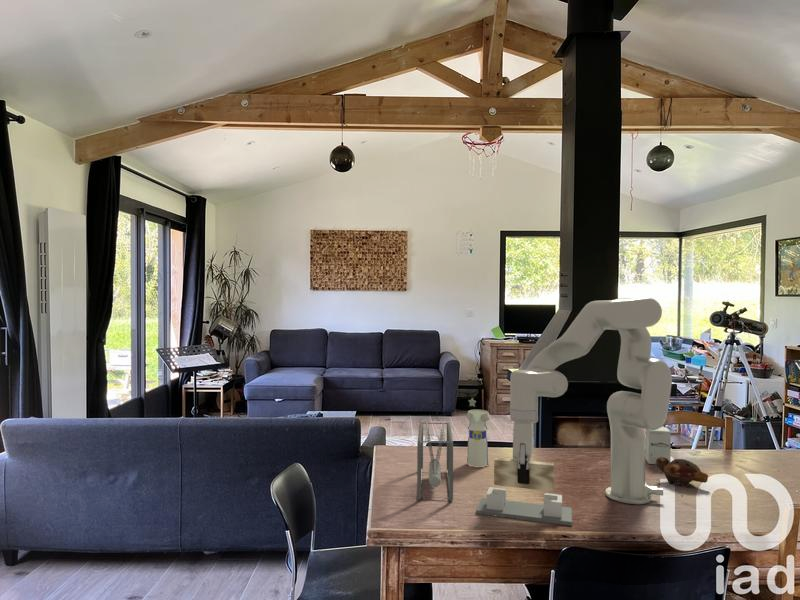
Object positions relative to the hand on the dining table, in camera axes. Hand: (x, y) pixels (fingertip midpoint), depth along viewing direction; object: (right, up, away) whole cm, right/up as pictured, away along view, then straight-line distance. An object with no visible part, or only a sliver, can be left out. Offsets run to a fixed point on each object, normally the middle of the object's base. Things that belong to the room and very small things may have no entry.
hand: (523, 481), depth 141 cm
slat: (0, -2, 0) cm, 2 cm away
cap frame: (0, -9, 0) cm, 9 cm away
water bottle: (-6, -10, +44) cm, 45 cm away
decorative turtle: (+57, -10, +24) cm, 62 cm away
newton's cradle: (-23, -9, +22) cm, 33 cm away
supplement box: (+61, -10, +47) cm, 78 cm away
